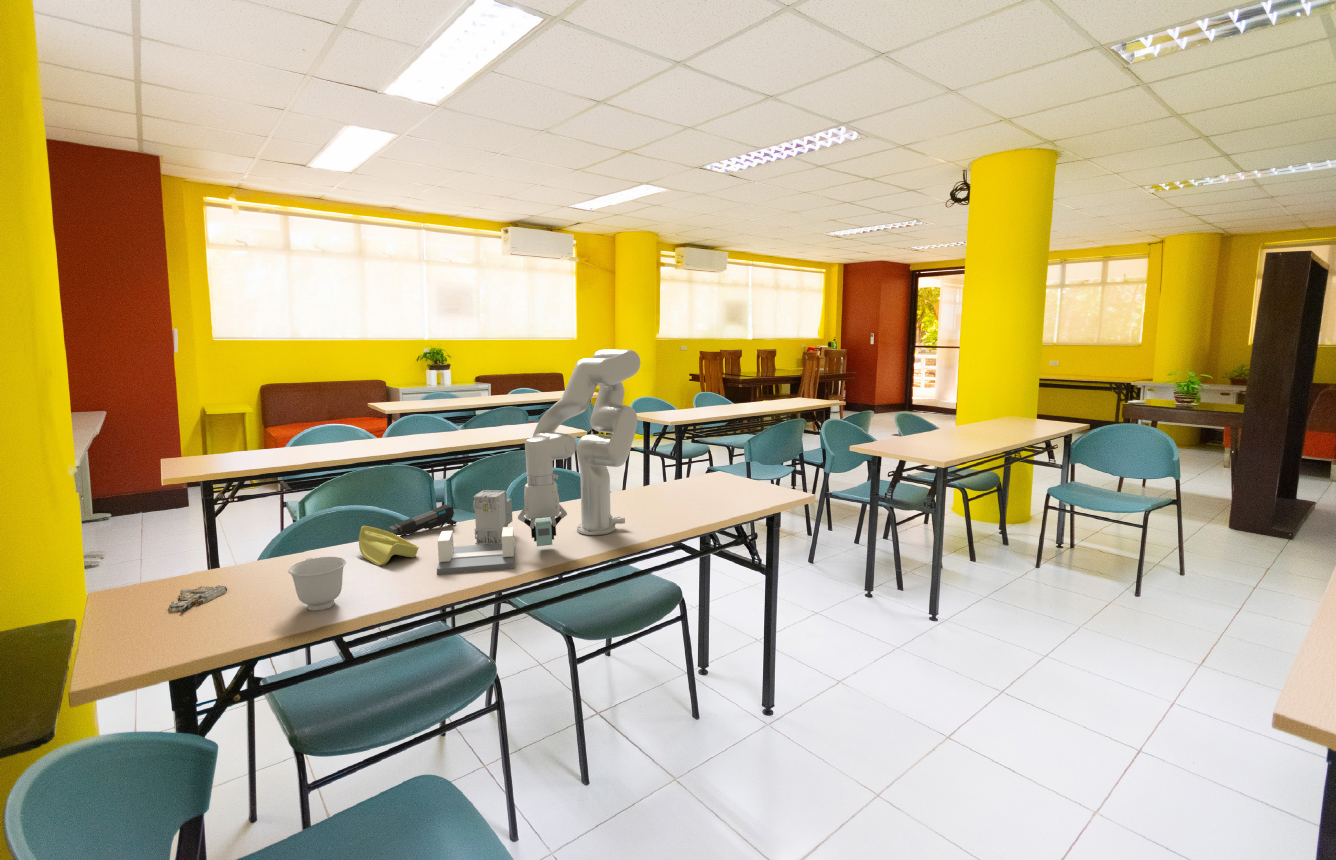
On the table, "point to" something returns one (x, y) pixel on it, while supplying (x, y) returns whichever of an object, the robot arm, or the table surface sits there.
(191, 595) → the circuit board
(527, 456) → the robot arm
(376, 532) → the plastic component
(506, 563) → the rail board
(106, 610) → the table surface
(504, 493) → the circuit breaker
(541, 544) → the block
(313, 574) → the teacup
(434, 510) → the gun
